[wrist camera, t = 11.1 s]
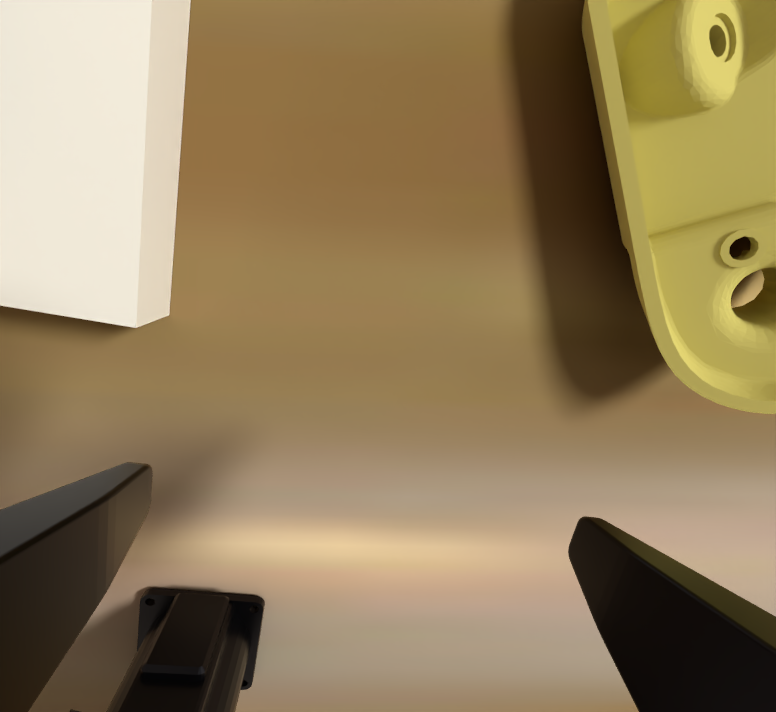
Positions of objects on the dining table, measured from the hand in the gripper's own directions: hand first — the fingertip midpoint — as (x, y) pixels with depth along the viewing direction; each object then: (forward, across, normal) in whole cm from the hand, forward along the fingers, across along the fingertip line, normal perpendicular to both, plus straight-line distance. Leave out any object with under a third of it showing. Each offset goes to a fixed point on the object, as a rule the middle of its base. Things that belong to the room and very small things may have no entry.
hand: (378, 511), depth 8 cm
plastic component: (+12, -14, -12) cm, 22 cm away
